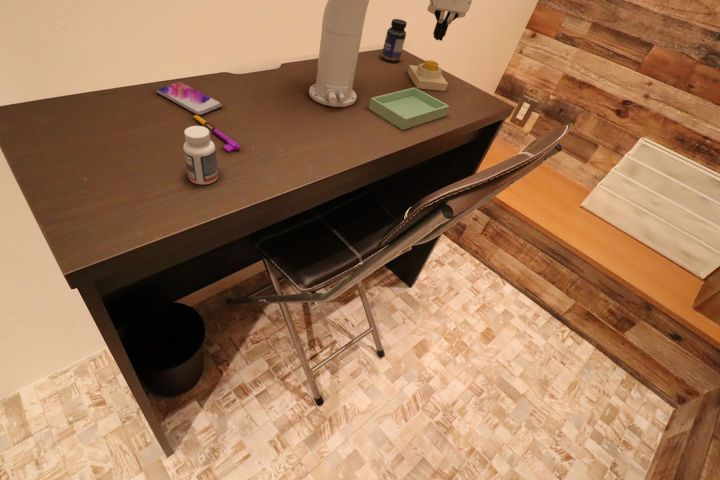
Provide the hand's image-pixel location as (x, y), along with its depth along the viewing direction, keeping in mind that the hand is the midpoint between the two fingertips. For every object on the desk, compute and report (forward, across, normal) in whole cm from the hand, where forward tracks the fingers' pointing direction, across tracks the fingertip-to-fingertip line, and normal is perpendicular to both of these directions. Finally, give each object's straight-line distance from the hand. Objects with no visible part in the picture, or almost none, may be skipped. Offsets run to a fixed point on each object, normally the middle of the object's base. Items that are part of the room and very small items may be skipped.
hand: (437, 38), depth 103 cm
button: (+8, +1, 0) cm, 8 cm away
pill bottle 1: (+13, -58, -56) cm, 82 cm away
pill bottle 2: (+12, -7, +16) cm, 21 cm away
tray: (+12, -11, -23) cm, 28 cm away
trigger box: (+12, +1, 0) cm, 12 cm away
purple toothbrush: (+13, -58, -41) cm, 72 cm away
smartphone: (+13, -65, -26) cm, 71 cm away
